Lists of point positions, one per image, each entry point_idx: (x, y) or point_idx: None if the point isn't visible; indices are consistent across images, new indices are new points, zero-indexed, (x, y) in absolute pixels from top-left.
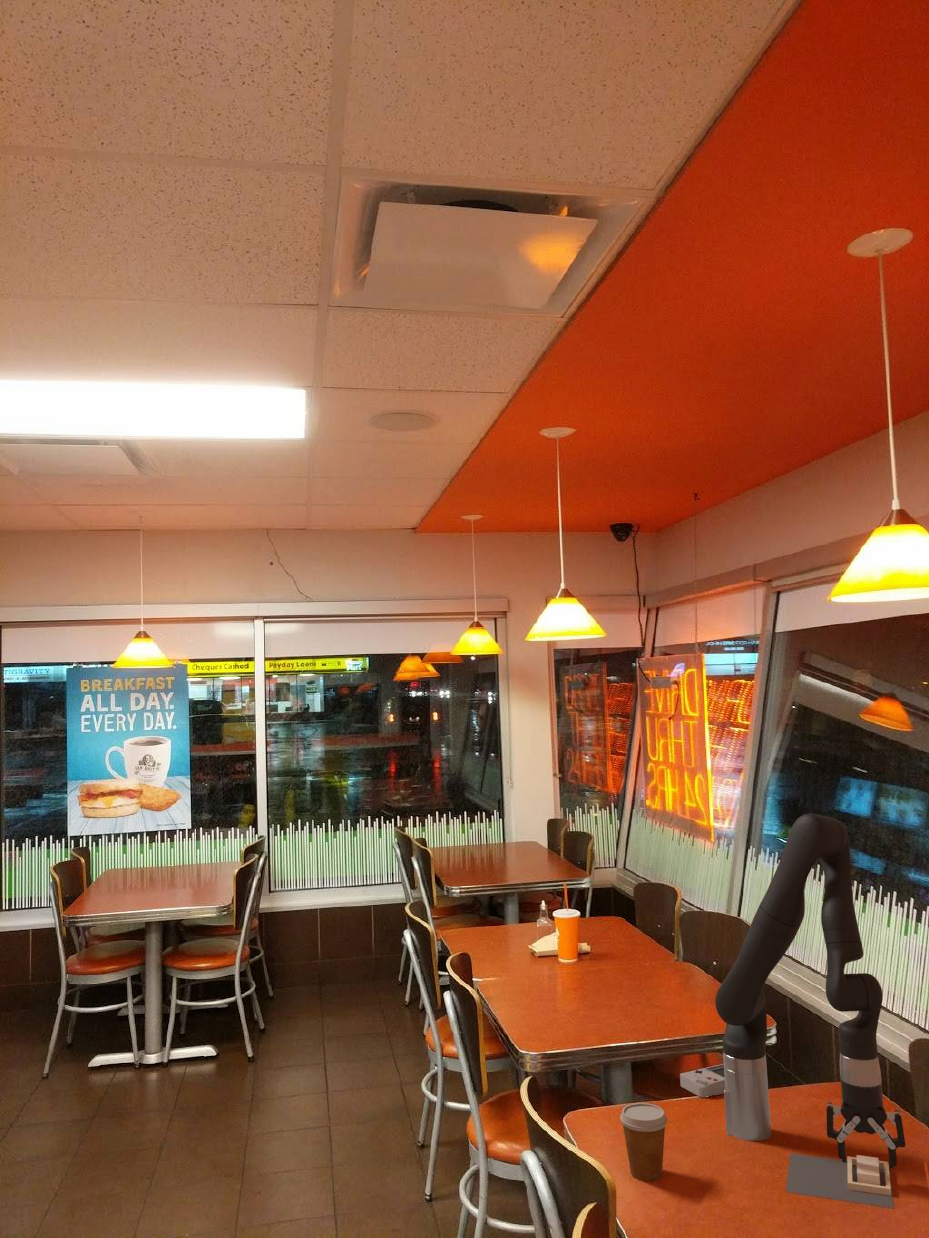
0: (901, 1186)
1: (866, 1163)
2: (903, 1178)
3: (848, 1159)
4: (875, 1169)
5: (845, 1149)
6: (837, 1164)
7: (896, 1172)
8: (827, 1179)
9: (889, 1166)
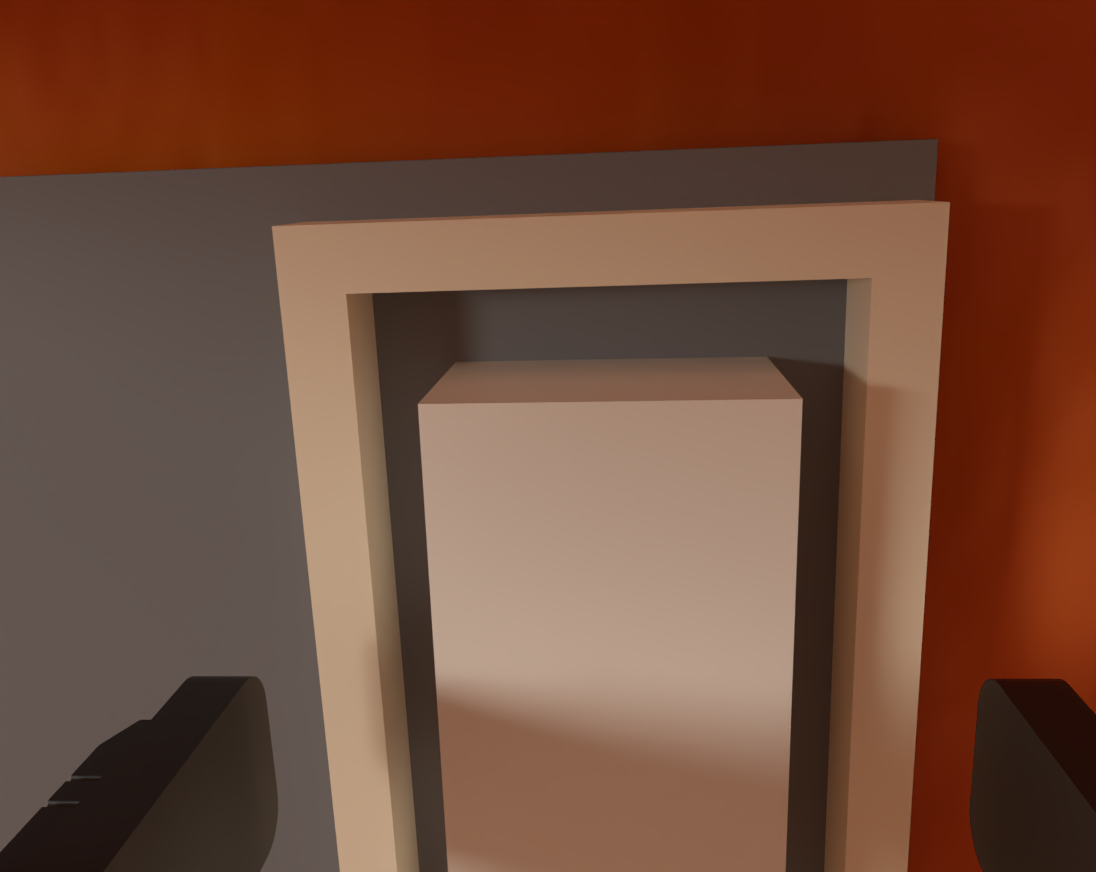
0: (1026, 611)
1: (591, 688)
2: (1093, 362)
3: (301, 344)
4: (730, 848)
5: (195, 806)
6: (171, 347)
7: (1016, 193)
8: None
9: (979, 815)
